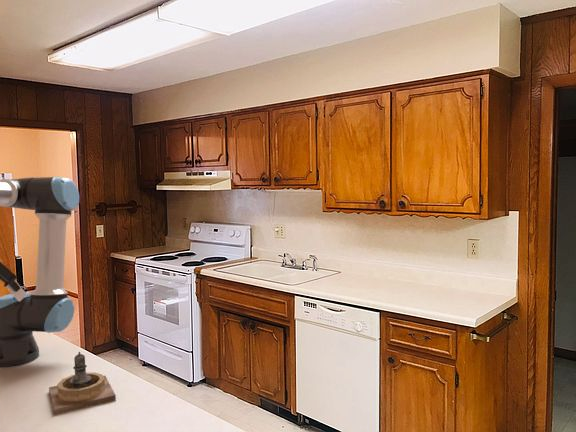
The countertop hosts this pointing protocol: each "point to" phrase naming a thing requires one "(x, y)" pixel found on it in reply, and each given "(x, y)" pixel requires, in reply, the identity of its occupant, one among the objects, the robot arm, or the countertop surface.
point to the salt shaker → (80, 373)
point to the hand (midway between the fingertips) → (9, 294)
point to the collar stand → (80, 394)
